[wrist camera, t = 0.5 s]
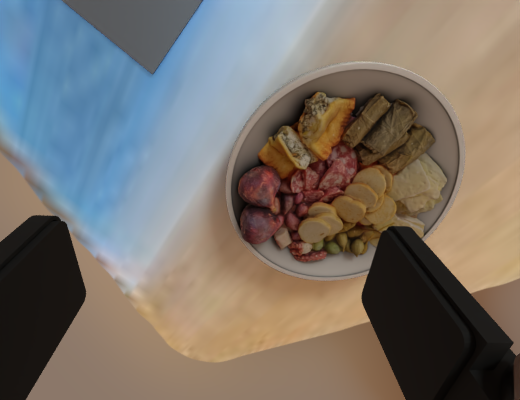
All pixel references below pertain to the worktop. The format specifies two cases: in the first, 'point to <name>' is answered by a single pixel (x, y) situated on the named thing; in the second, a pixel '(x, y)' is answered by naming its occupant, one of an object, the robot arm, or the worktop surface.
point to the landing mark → (138, 24)
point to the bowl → (343, 168)
